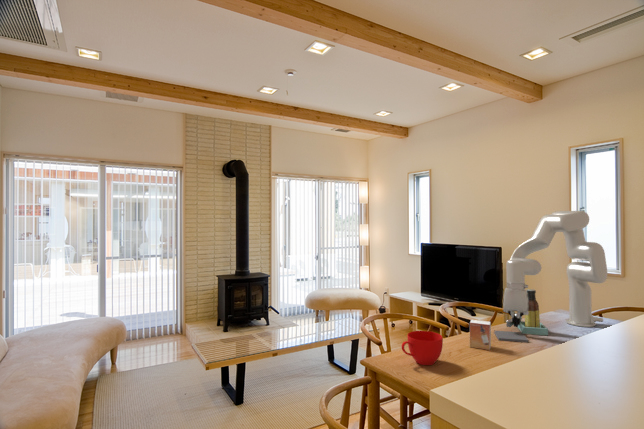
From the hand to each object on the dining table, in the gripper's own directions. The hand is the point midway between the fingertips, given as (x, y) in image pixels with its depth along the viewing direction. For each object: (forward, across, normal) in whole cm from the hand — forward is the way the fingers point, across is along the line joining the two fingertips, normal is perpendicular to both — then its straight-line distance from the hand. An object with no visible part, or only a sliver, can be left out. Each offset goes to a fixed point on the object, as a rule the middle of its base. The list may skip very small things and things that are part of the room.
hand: (516, 325), depth 177 cm
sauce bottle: (+4, -5, -12) cm, 13 cm away
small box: (+4, +9, +26) cm, 28 cm away
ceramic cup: (+4, +22, +58) cm, 63 cm away
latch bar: (0, +2, -7) cm, 7 cm away
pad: (+4, +1, +5) cm, 7 cm away
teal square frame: (+4, -4, -12) cm, 14 cm away
